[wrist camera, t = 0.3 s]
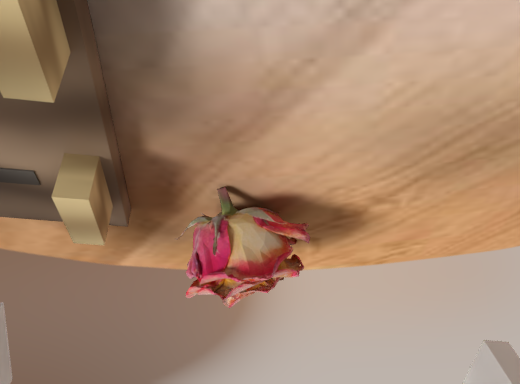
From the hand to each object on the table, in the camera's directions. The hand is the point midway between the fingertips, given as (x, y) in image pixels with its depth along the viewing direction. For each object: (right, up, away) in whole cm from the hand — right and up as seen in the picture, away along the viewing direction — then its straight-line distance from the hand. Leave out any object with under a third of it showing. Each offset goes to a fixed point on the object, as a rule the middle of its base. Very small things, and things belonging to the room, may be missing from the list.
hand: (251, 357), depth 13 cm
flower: (-1, +4, +22) cm, 23 cm away
